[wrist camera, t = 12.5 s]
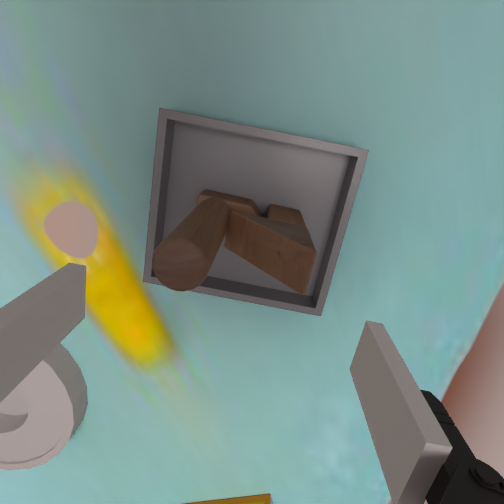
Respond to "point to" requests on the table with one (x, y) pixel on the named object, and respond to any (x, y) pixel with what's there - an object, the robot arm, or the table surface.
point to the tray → (253, 198)
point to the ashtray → (42, 412)
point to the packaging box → (242, 500)
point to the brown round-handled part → (236, 242)
